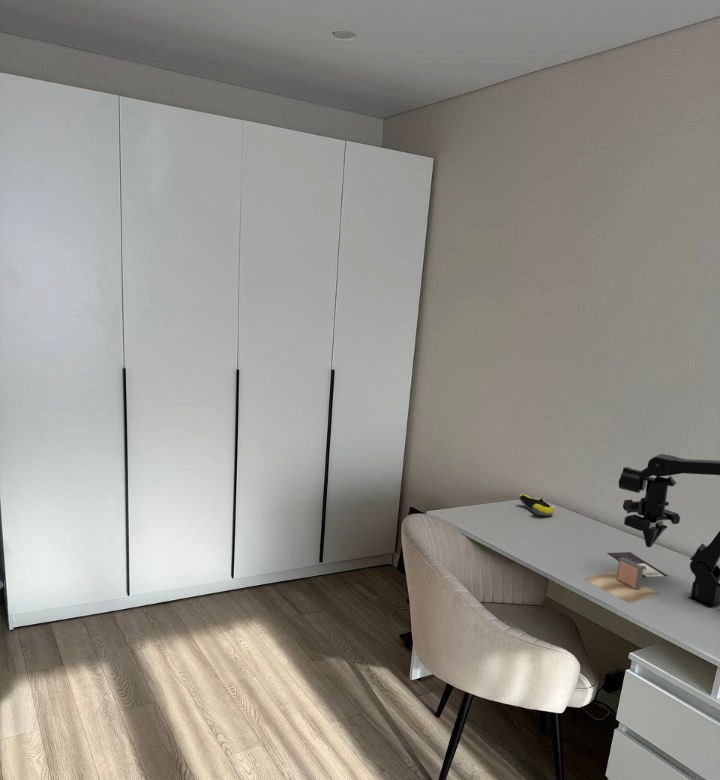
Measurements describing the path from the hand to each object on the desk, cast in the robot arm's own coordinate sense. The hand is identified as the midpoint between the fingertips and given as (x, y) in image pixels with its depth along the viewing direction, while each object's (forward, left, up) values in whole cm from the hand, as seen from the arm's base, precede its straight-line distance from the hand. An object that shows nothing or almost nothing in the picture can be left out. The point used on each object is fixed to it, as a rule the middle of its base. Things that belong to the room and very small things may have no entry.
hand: (648, 546), depth 195 cm
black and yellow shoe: (+59, -16, -12) cm, 62 cm away
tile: (0, +7, -11) cm, 13 cm away
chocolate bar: (+9, -9, -12) cm, 17 cm away
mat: (0, +10, -11) cm, 15 cm away
